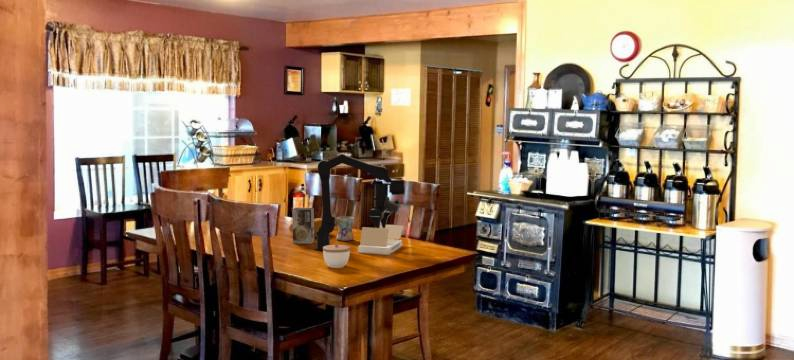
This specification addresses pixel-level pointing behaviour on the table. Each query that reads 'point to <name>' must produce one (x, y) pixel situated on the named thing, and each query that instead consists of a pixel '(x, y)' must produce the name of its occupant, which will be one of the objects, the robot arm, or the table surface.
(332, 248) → the lidded jar
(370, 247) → the carton
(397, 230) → the far flap
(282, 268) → the table surface
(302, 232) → the coffee box
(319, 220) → the bread
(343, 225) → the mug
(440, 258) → the table surface
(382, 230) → the near flap
